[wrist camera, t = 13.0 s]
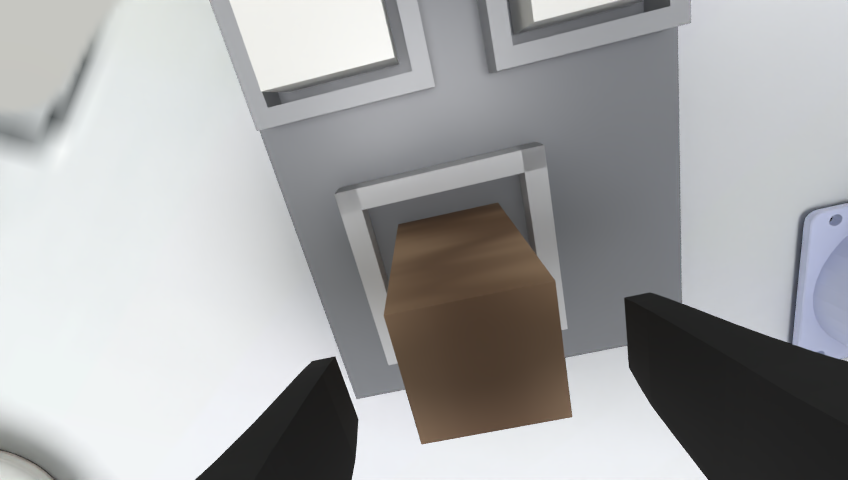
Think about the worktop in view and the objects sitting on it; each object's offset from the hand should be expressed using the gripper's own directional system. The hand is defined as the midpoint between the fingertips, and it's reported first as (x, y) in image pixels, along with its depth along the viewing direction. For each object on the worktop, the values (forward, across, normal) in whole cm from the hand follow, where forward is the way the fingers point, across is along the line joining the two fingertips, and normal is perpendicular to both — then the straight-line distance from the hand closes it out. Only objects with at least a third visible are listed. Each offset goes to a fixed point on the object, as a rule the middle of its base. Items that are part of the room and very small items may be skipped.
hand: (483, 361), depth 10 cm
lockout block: (+7, 0, 0) cm, 7 cm away
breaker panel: (+8, -1, -4) cm, 9 cm away
